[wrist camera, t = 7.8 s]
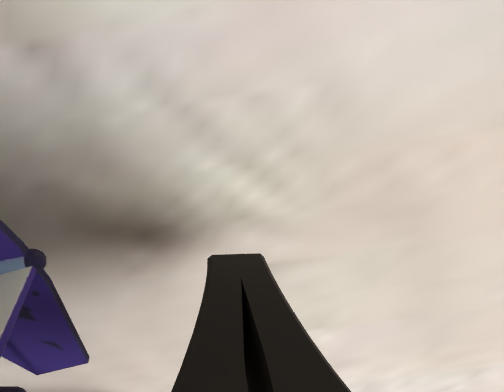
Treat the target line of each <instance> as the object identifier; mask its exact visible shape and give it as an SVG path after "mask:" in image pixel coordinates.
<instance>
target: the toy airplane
mask: <svg viewBox="0 0 504 392" xmlns="http://www.w3.org/2000/svg"><path fill="white" fill-rule="evenodd" d="M45 265H46V256H45V255H44V253H43V252H41V251H39V250H37V249H28V248H27V246H26V245H25V244H24V243H23V242H22V241H21V240H20V239H19V238H18V237H17V236H16V235H15V234H14V233H13V232H12V231H11V230H10V229H9V228H8V227H7V226H6V225H5V224H4V223H3V222H2V221H1V220H0V357H1V356H2V357H4V358H6V359H8V360H9V361H11V362H13V363H15V364H17V365H19V366H21V367H23V368H24V369H26V370H28V371H30V372H32V373H34V374H36V375H40V374H44V373H48V372H52V371H56V370H61V369H65V368H69V367H73V366H77V365H82V364H86V363H88V361H89V355H88V353H87V351H86V349H85V347H84V345H83V343H82V341H81V339H80V337H79V335H78V333H77V331H76V329H75V327H74V325H73V323H72V321H71V319H70V317H69V315H68V313H67V311H66V309H65V307H64V305H63V303H62V301H61V299H60V297H59V295H58V293H57V291H56V289H55V287H54V285H53V282H52V280H51V279H50V277H49V276H48V275H47V273H46V272H45V271H44V267H45ZM0 392H26V391H25V390H24V389H23V388H20V387H0Z"/></svg>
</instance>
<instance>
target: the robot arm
mask: <svg viewBox="0 0 504 392" xmlns="http://www.w3.org/2000/svg"><path fill="white" fill-rule="evenodd" d="M171 392H351V391H350V390H349V388H348V387H347V386H346V385H345V384H344V382H343V381H342V380H341V379H340V377H339V376H338V375H337V373H336V372H335V371H334V370H333V368H332V367H331V366H330V364H329V363H328V362H327V360H326V359H325V357H324V356H323V355H322V353H321V352H320V350H319V349H318V348H317V346H316V345H315V344H314V342H313V341H312V339H311V338H310V336H309V335H308V333H307V332H306V330H305V329H304V327H303V326H302V324H301V323H300V321H299V319H298V318H297V316H296V315H295V313H294V312H293V310H292V308H291V307H290V305H289V304H288V302H287V300H286V299H285V297H284V295H283V293H282V292H281V290H280V288H279V286H278V285H277V283H276V281H275V279H274V277H273V275H272V273H271V271H270V269H269V267H268V265H267V263H266V261H265V258H264V257H263V256H262V255H261V254H229V255H212V256H210V257H209V258H208V262H207V278H206V284H205V289H204V294H203V299H202V303H201V307H200V310H199V314H198V317H197V321H196V324H195V328H194V331H193V334H192V337H191V340H190V343H189V346H188V349H187V352H186V354H185V357H184V360H183V363H182V366H181V368H180V371H179V374H178V376H177V379H176V381H175V384H174V386H173V389H172V391H171Z"/></svg>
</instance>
